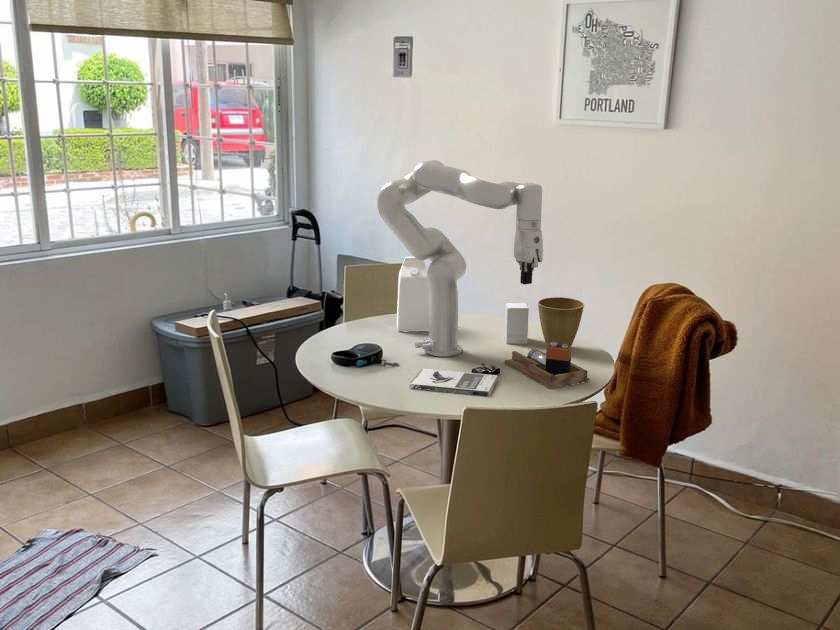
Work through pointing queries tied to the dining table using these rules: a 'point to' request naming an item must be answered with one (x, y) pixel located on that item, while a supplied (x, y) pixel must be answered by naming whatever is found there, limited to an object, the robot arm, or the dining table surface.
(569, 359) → the battery
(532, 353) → the shaft
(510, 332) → the supplement box
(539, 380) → the tray
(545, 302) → the plant pot
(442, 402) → the dining table surface
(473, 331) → the dining table surface
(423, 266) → the milk
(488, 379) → the book
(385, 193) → the robot arm
